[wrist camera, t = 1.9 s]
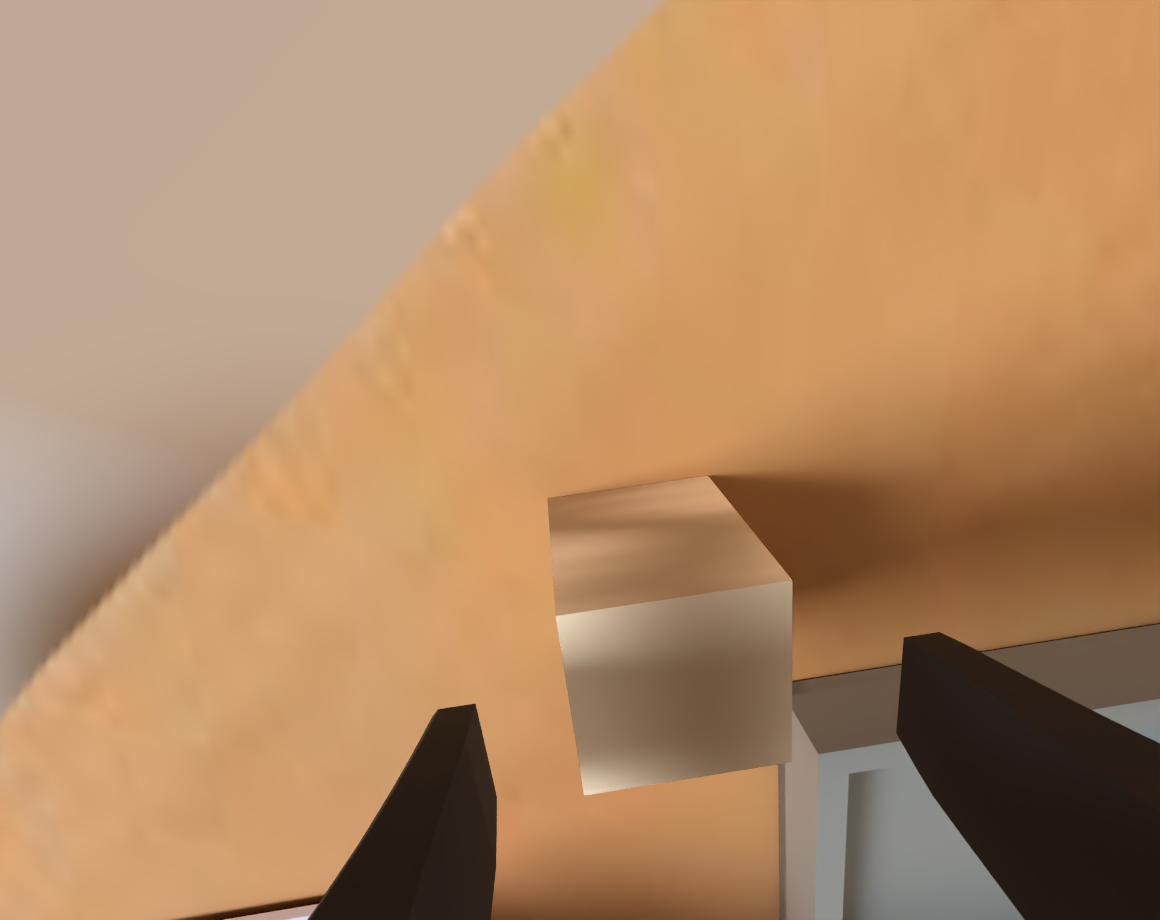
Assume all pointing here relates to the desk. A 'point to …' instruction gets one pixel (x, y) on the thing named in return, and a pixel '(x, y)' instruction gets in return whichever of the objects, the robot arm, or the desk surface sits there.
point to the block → (670, 635)
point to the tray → (919, 785)
